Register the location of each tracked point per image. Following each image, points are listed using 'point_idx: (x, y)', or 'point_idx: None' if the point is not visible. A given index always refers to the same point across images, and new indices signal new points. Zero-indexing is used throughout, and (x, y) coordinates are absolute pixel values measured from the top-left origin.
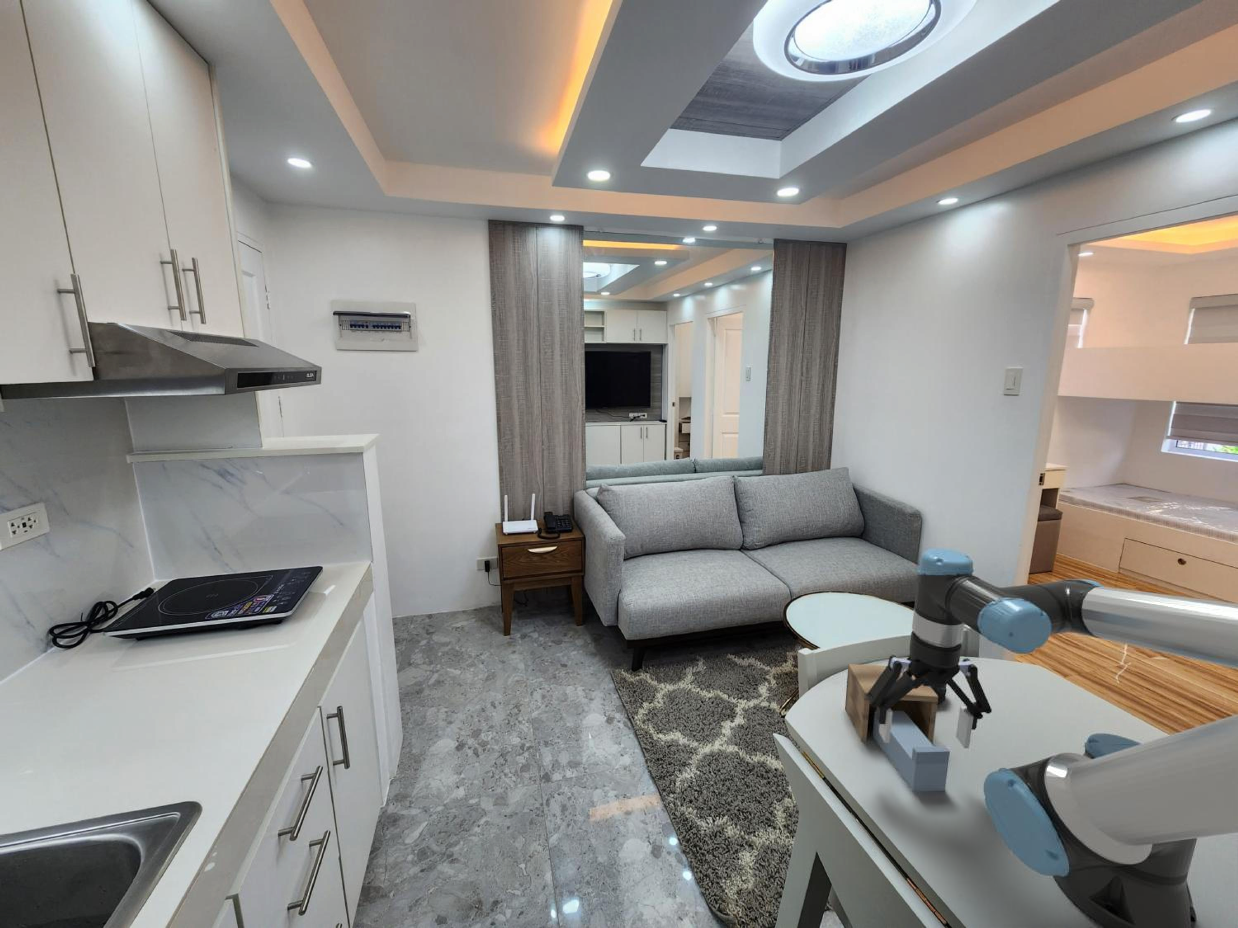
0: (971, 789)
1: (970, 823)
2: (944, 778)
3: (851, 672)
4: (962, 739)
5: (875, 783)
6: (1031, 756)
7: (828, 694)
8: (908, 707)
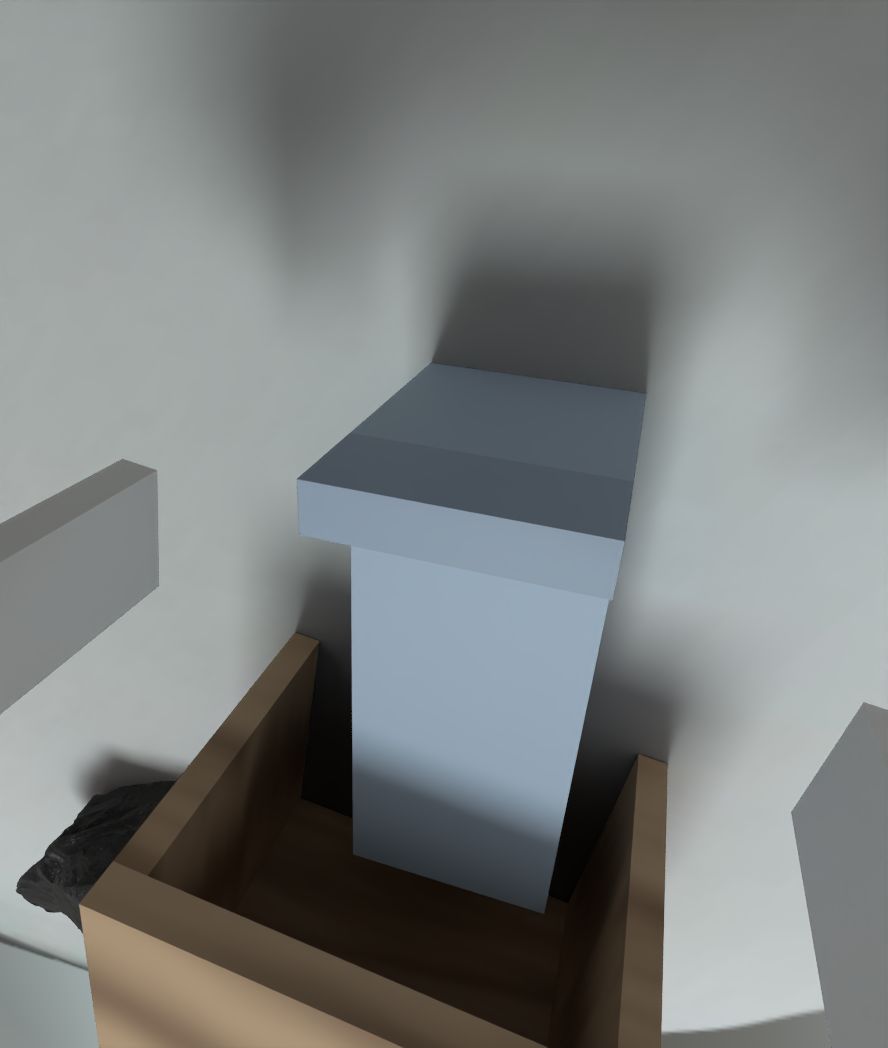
0: (274, 340)
1: (448, 88)
2: (414, 390)
3: None
4: (120, 530)
5: (857, 499)
6: None
7: None
8: (279, 830)
